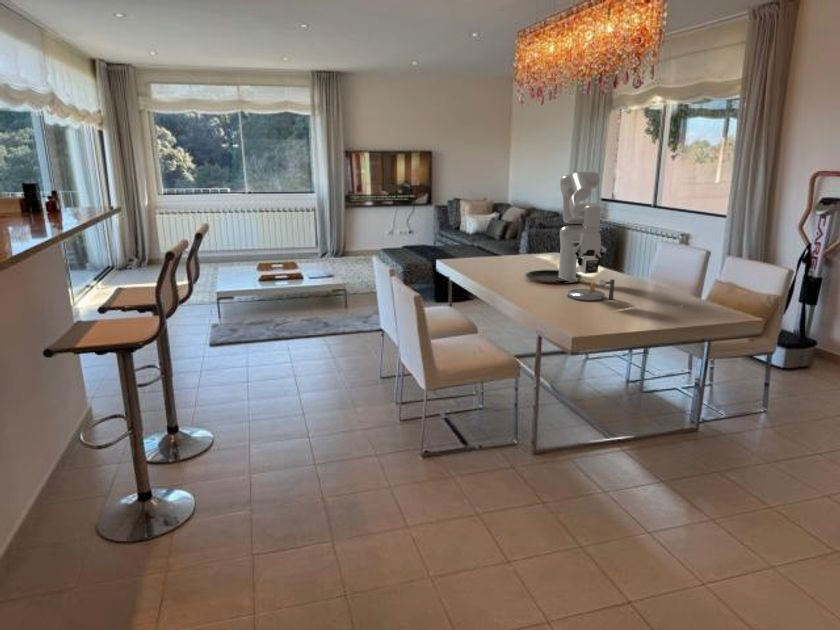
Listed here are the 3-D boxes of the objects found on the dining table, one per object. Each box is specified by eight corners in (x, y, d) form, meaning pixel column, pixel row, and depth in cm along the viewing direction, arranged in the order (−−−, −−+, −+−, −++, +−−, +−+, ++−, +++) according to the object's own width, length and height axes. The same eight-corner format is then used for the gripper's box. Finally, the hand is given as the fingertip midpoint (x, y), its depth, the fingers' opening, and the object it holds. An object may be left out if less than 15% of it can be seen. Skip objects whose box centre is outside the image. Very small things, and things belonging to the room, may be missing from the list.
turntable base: (562, 294, 302) (562, 292, 302) (598, 293, 303) (598, 292, 302) (572, 303, 284) (572, 301, 284) (610, 303, 284) (610, 301, 284)
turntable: (594, 303, 281) (595, 291, 279) (561, 297, 292) (562, 285, 291) (610, 296, 294) (611, 284, 292) (578, 290, 305) (579, 279, 304)
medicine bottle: (585, 274, 285) (587, 250, 282) (577, 271, 292) (579, 247, 288) (598, 273, 287) (600, 249, 284) (590, 270, 294) (592, 247, 290)
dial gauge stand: (596, 300, 291) (598, 278, 287) (613, 300, 291) (615, 278, 287) (598, 302, 287) (600, 280, 284) (615, 302, 287) (617, 280, 284)
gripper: (606, 229, 287) (603, 263, 292) (571, 229, 287) (569, 263, 292) (611, 231, 280) (608, 266, 285) (575, 231, 280) (573, 266, 285)
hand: (588, 264), depth 288 cm, fingers closed on medicine bottle, 8 cm apart
